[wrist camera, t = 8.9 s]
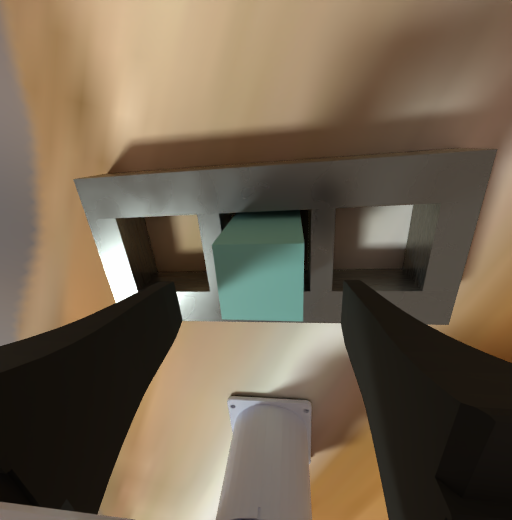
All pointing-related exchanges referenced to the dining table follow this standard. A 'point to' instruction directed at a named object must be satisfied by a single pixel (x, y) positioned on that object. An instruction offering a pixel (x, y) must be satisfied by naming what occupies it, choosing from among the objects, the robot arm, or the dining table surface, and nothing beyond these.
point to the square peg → (261, 266)
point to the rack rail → (319, 223)
